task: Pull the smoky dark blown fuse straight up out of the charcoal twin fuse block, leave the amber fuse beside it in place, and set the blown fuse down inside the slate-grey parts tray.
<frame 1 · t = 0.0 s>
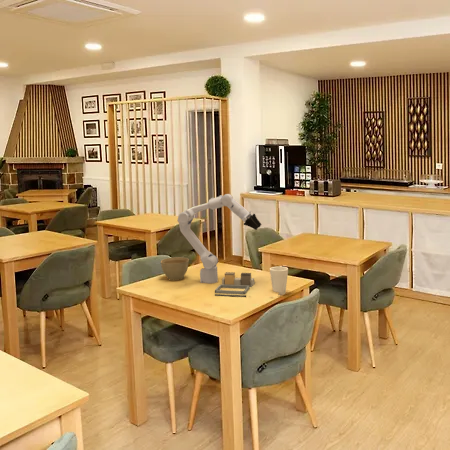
hand: (258, 227, 298), 32 cm above the table, tool tilted 50°, fingers open, 7 cm apart
parts tray: (232, 293, 291), on the table
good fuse: (230, 283, 305), point 1 cm above the table, touching fuse block
fuse block: (238, 286, 304), on the table
planter bowl: (175, 278, 326), on the table
blown fuse: (246, 284, 302), point 1 cm above the table, touching fuse block
foam cup: (279, 293, 289), on the table
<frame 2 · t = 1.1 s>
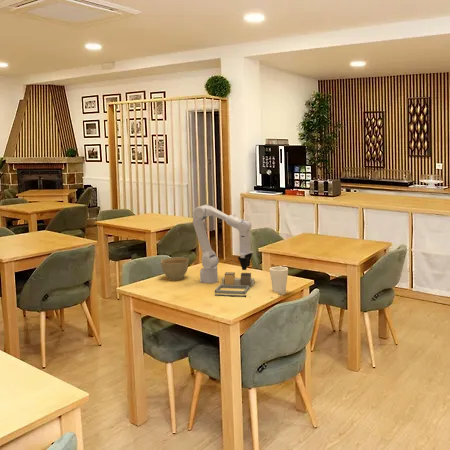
hand: (245, 268, 301), 10 cm above the table, tool pointing down, fingers open, 7 cm apart
nothing on the table moved.
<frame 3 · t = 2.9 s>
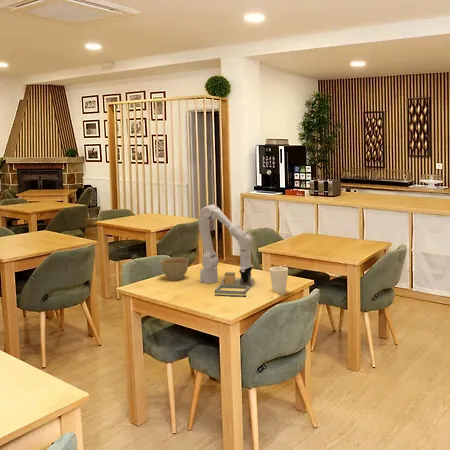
hand: (246, 281, 302), 3 cm above the table, tool pointing down, fingers closed on blown fuse, 3 cm apart
blown fuse: (246, 284, 302), point 1 cm above the table, touching fuse block, gripper
everything else where it was.
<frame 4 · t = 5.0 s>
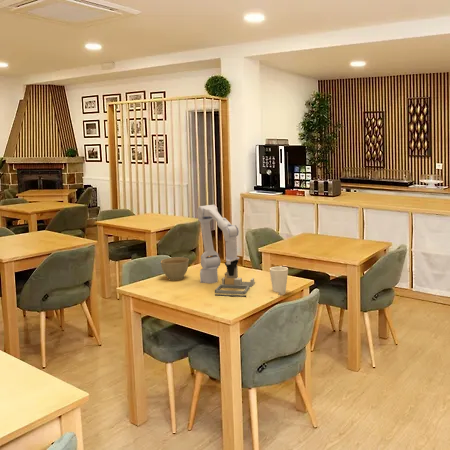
hand: (232, 274, 290), 10 cm above the table, tool pointing down, fingers closed on blown fuse, 3 cm apart
blown fuse: (232, 277, 290), point 9 cm above the table, touching gripper
everything else where it was.
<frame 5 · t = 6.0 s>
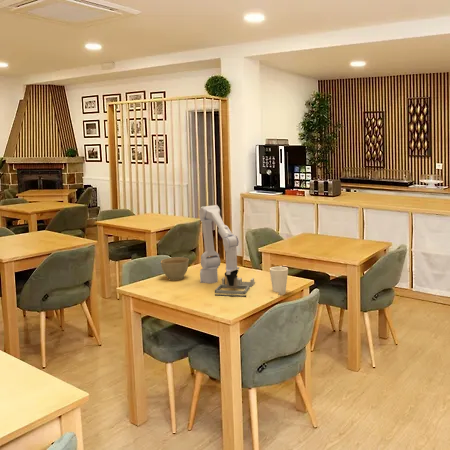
hand: (232, 284, 291), 5 cm above the table, tool pointing down, fingers closed on blown fuse, 3 cm apart
blown fuse: (232, 287, 291), point 3 cm above the table, touching gripper
everything else where it was.
when the fingers open (4 cm above the table, at t = 6.9 s): blown fuse drops 1 cm, resting on parts tray.
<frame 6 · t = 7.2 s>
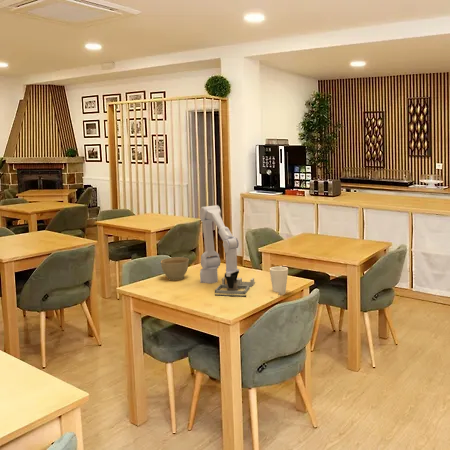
hand: (232, 286, 291), 4 cm above the table, tool pointing down, fingers open, 5 cm apart
blown fuse: (232, 292, 291), point 1 cm above the table, touching parts tray
everything else where it was.
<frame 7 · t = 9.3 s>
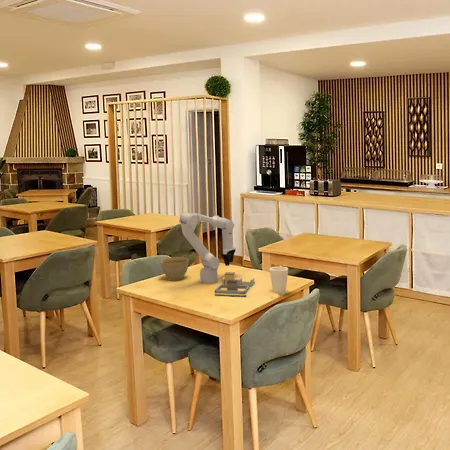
hand: (229, 263, 316), 9 cm above the table, tool pointing down, fingers open, 7 cm apart
nothing on the table moved.
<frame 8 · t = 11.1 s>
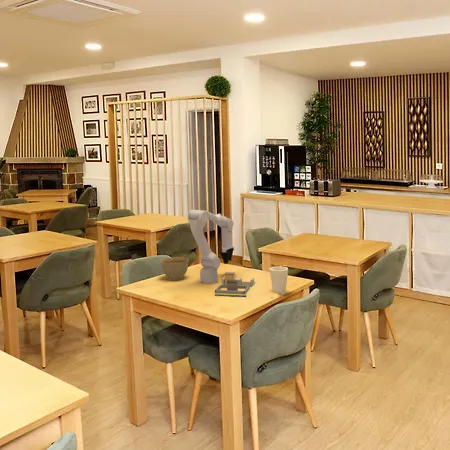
hand: (227, 262, 321), 9 cm above the table, tool pointing down, fingers open, 7 cm apart
nothing on the table moved.
at the end: blown fuse inside the target area on the parts tray (0.1 cm from its centre), point 0.8 cm above the parts tray's base; the gripper is holding nothing; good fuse moved 0.0 cm from its start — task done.
